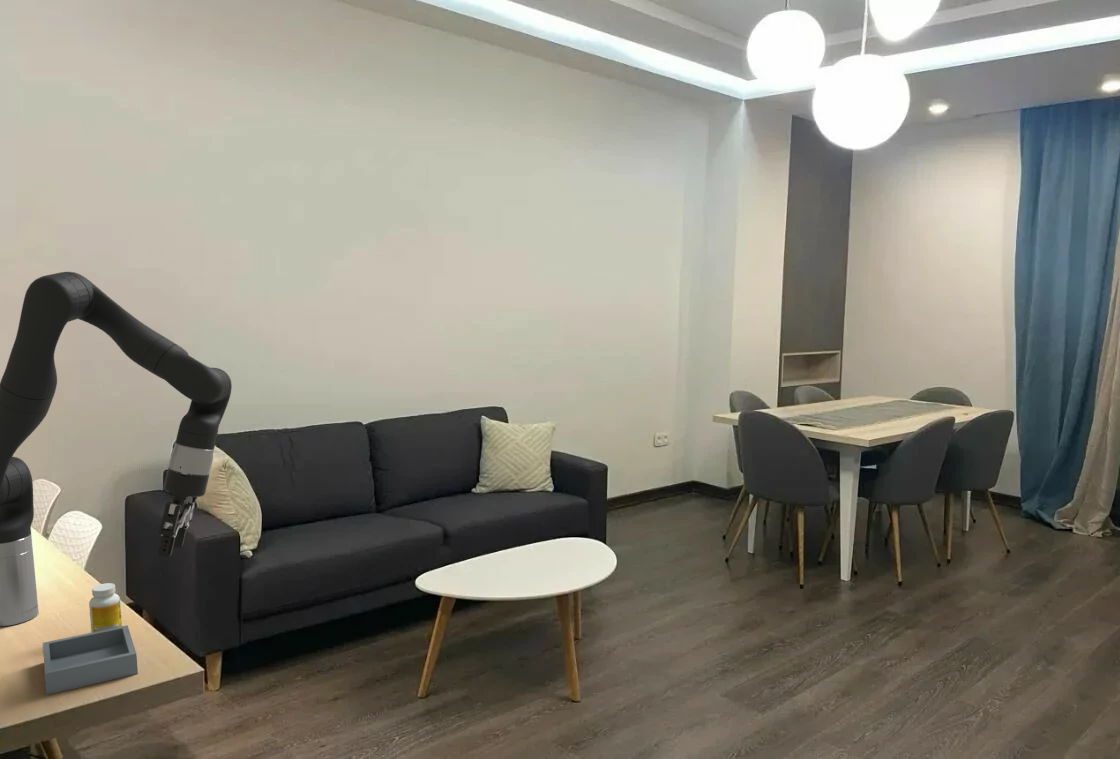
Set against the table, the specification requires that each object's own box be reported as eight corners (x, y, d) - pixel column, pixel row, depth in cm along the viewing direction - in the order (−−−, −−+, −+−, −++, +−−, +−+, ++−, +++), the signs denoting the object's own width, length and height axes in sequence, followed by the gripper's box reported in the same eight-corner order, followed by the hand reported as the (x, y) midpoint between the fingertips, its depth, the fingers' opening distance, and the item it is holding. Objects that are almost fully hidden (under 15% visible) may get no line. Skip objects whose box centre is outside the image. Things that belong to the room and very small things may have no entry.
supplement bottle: (87, 633, 170) (83, 587, 168) (116, 625, 174) (112, 579, 172) (97, 641, 166) (93, 594, 165) (126, 632, 170) (123, 586, 169)
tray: (46, 694, 146) (44, 673, 145) (44, 662, 158) (42, 642, 157) (137, 673, 153) (136, 653, 153) (129, 644, 165) (127, 625, 164)
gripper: (178, 461, 172) (160, 540, 171) (158, 469, 158) (138, 556, 157) (217, 468, 173) (199, 547, 173) (201, 477, 159) (181, 563, 159)
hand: (170, 551), depth 165 cm, fingers open, 8 cm apart
